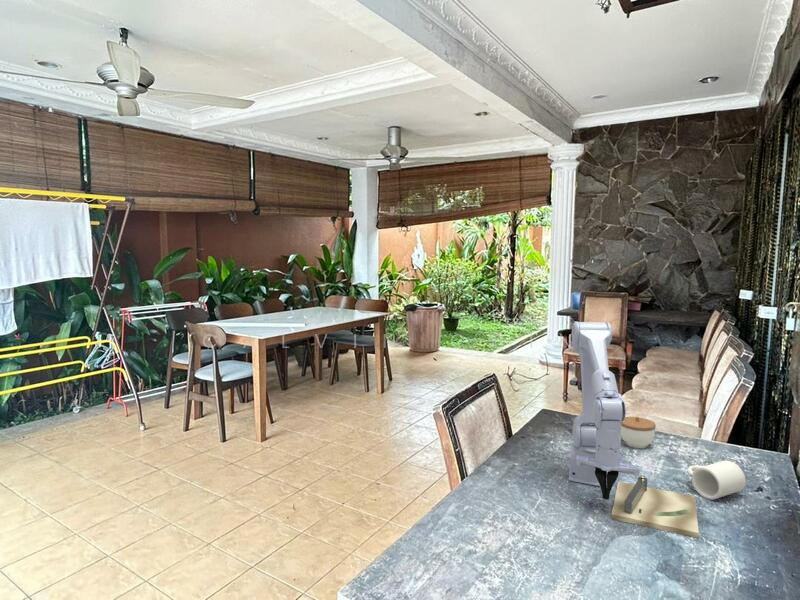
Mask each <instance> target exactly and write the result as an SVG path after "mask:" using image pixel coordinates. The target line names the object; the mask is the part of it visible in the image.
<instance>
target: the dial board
mask: <svg viewBox="0 0 800 600" xmlns="http://www.w3.org/2000/svg"><path fill="white" fill-rule="evenodd" d="M616 485H617V486H616V490H615V496H614V500H613V505H612V511H611V520H613V521H619V522H624V523H629V524H633V525H637V526H641V527H646V528H651V529H656V530H660V531H665V532H668V533H674V534H679V535H682V536H687V537H692V538H695V539H696V538H697V539H699V538H700V537H699V535H700V534H699V533H700V531H699V523H698V515H697V506H696V500H695V499H696V497H695V495H691V494H686V493H680V492H676V491H670V490H664V489H659V488H653V487H648V486H647V490H646V491H644V493H643V494H642V496H641V498H640V499H639V501H638V503H637V504H636V506H635V508H634V509H633V511H632V513H630V512H626V511H624V506H625V499H626V498H627V496H628V495H629V493H630V492H631V490H632V489H633V487H634V486H635V484H631V483H627V482H622V481H617V484H616Z"/></svg>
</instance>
